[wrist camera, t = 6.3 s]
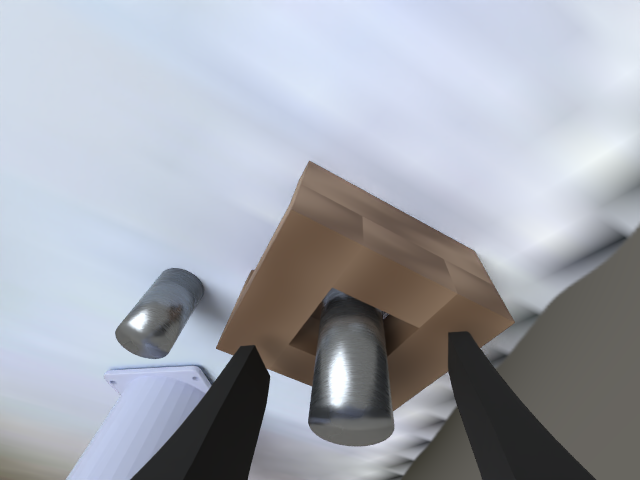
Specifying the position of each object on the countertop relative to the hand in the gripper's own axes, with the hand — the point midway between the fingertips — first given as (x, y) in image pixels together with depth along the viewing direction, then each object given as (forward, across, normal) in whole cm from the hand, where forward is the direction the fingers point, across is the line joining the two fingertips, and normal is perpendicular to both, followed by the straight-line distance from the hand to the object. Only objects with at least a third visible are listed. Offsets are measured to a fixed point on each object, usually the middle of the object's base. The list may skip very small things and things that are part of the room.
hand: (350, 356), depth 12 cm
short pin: (+5, +10, 0) cm, 11 cm away
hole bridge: (+5, 0, 0) cm, 5 cm away
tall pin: (+5, 0, 0) cm, 5 cm away
